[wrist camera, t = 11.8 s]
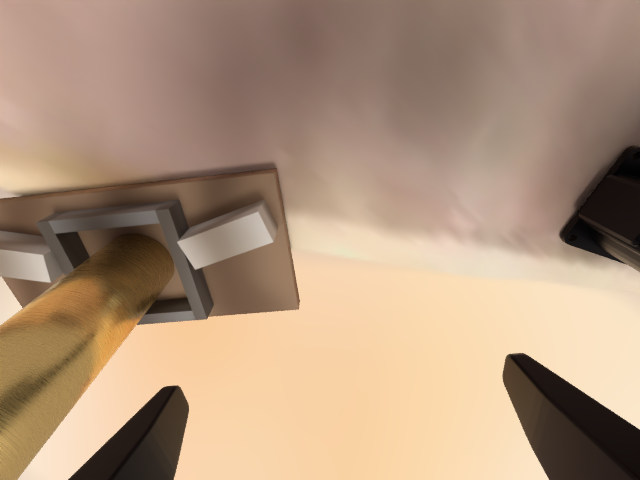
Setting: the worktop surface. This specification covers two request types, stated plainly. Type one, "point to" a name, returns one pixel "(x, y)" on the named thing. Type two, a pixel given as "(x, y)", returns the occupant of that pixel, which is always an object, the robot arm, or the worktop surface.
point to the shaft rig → (162, 241)
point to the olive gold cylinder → (71, 341)
